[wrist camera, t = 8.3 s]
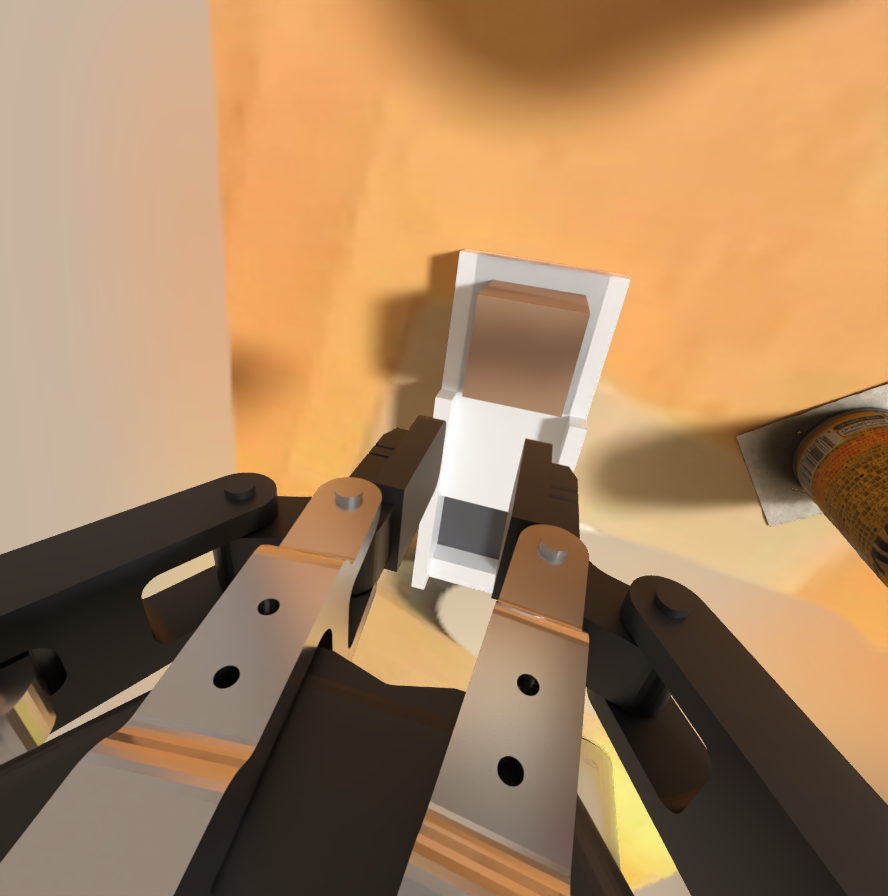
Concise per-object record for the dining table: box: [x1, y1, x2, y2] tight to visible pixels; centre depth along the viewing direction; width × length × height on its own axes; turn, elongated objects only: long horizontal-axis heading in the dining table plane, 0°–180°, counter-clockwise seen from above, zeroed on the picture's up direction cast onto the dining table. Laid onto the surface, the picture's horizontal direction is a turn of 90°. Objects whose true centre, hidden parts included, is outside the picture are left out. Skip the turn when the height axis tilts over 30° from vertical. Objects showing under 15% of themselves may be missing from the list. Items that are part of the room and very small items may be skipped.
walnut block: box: [462, 280, 590, 417], centre depth 23 cm, size 5×5×5 cm
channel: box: [412, 249, 631, 593], centre depth 30 cm, size 24×9×4 cm, turn 173°
